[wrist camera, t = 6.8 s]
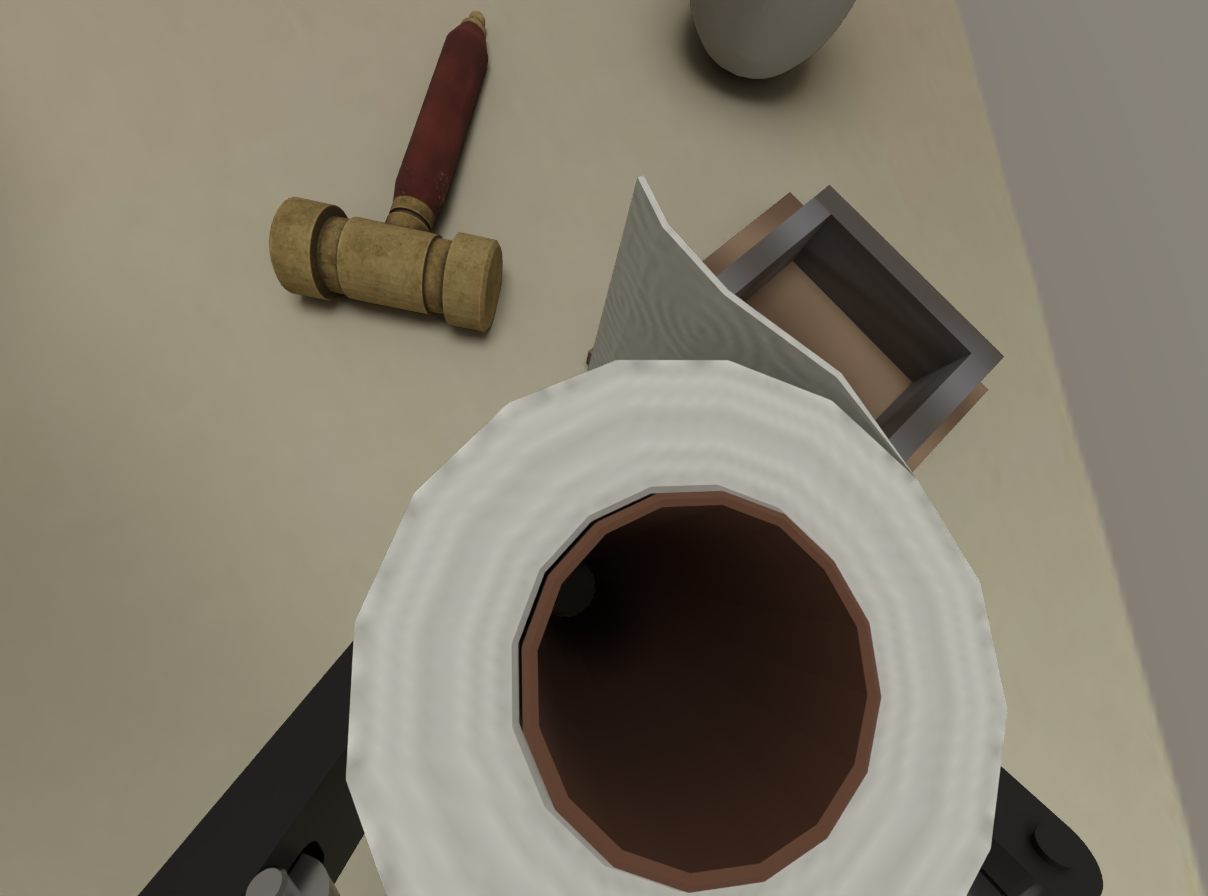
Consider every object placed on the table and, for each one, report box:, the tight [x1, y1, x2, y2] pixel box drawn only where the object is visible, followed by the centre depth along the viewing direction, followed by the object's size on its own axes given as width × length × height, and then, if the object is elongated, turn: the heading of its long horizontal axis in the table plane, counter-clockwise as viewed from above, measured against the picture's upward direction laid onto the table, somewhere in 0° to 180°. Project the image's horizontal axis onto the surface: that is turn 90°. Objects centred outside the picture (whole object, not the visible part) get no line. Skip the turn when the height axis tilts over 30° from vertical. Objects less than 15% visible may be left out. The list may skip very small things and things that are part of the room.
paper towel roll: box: [346, 176, 1007, 896], centre depth 15 cm, size 7×6×21 cm
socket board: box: [586, 185, 1004, 472], centre depth 26 cm, size 16×16×6 cm
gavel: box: [269, 11, 503, 332], centre depth 28 cm, size 21×5×10 cm
